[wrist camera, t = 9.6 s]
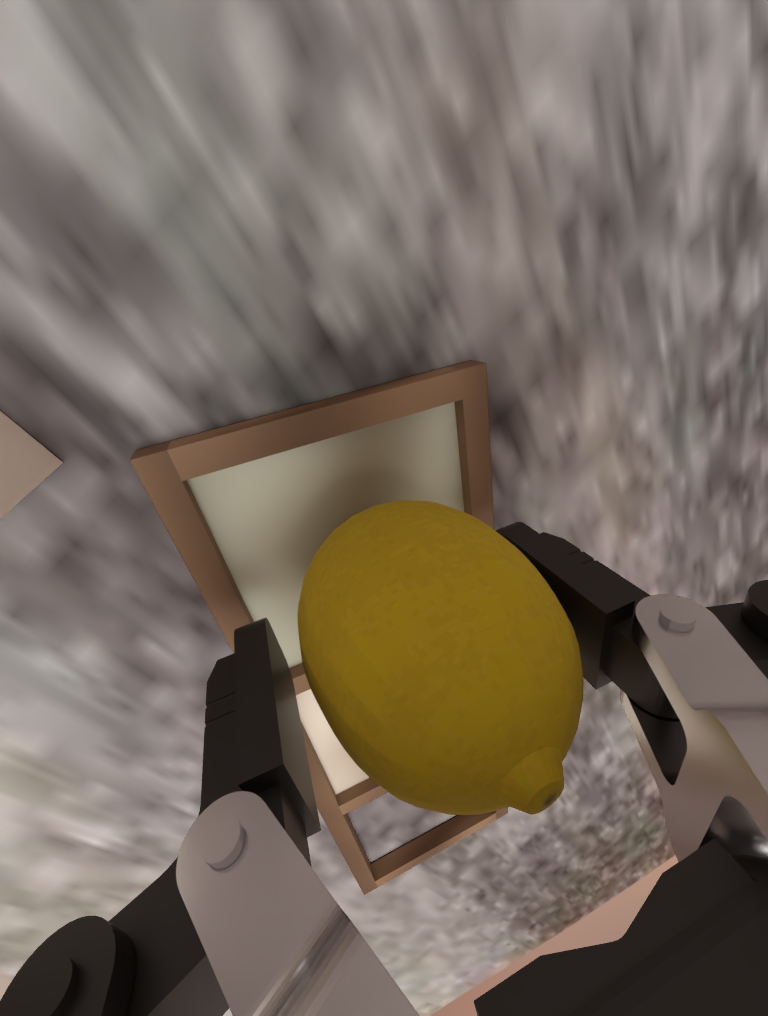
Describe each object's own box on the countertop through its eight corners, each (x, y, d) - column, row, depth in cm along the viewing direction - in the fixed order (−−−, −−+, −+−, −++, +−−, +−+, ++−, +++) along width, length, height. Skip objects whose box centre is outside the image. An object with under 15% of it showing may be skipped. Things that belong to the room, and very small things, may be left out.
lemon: (363, 641, 14) (507, 931, 7) (233, 567, 11) (272, 941, 4) (469, 528, 14) (717, 717, 7) (366, 421, 11) (624, 572, 4)
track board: (470, 360, 11) (485, 363, 11) (500, 799, 24) (507, 812, 24) (136, 450, 9) (129, 460, 9) (360, 877, 22) (364, 894, 21)
